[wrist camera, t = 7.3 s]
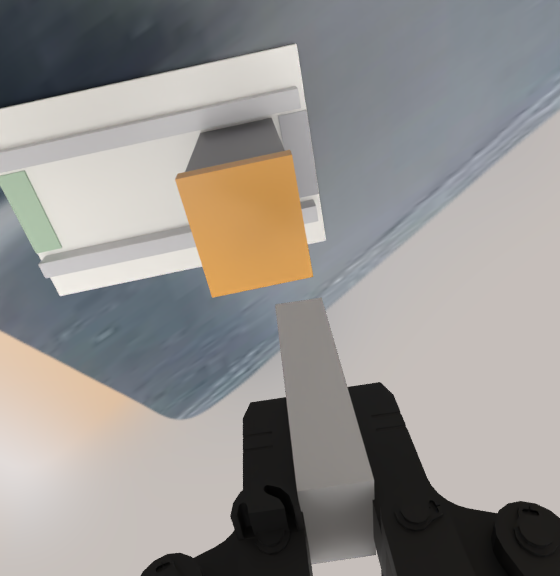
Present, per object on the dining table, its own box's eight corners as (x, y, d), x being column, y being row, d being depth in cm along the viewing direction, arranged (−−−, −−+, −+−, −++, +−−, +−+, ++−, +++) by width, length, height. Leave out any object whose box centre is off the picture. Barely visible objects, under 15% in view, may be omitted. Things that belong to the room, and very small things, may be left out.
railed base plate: (294, 43, 29) (299, 44, 27) (322, 233, 36) (329, 248, 34) (-23, 113, 30) (-47, 120, 27) (66, 286, 37) (53, 305, 34)
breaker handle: (273, 113, 30) (292, 154, 20) (290, 202, 33) (313, 276, 23) (196, 130, 30) (175, 179, 20) (220, 217, 33) (212, 297, 23)
